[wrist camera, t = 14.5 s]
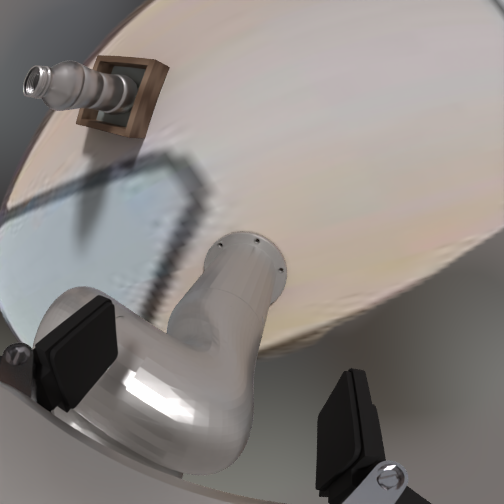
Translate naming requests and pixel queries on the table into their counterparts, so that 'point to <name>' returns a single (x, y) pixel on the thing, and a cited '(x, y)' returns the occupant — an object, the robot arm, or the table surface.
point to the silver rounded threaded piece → (80, 88)
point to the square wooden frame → (149, 86)
